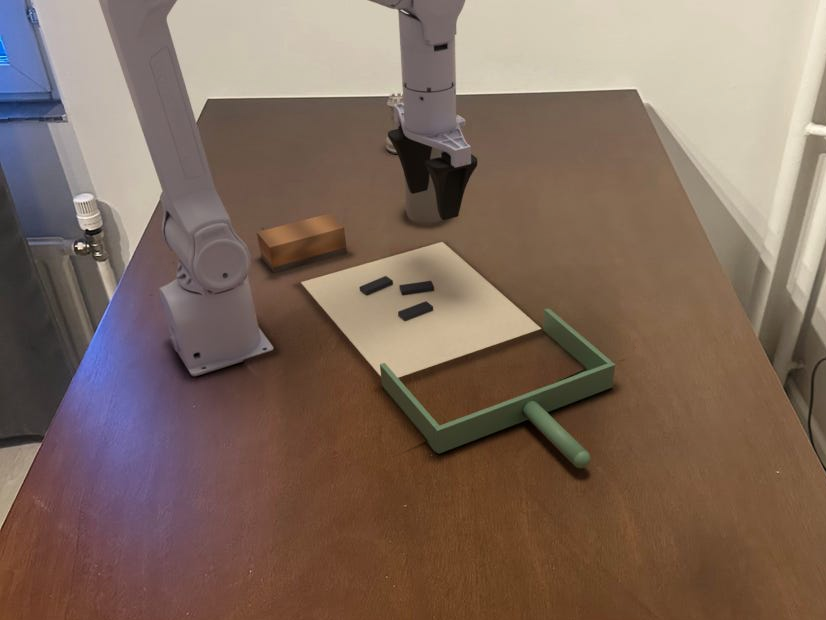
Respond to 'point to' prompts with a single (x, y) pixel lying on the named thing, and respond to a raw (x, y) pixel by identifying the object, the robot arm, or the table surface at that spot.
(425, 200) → the lotion bottle
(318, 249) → the eraser
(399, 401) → the green handled pusher frame
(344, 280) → the cream rectangular board
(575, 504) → the table surface
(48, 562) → the table surface
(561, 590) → the table surface
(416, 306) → the stroke
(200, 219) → the robot arm
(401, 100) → the rook chess piece
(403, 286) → the stroke
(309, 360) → the table surface
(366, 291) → the stroke
